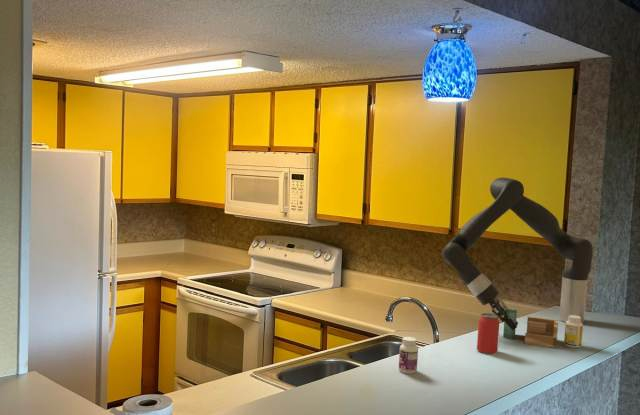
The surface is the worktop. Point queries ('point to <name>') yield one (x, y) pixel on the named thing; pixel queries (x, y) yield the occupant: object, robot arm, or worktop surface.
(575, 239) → the robot arm
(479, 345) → the beer can
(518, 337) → the block
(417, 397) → the worktop surface
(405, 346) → the pill bottle
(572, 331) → the supplement bottle
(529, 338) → the brown u-shaped block
